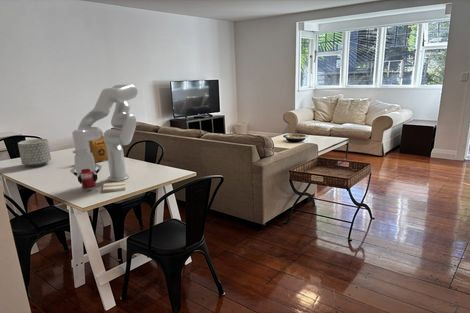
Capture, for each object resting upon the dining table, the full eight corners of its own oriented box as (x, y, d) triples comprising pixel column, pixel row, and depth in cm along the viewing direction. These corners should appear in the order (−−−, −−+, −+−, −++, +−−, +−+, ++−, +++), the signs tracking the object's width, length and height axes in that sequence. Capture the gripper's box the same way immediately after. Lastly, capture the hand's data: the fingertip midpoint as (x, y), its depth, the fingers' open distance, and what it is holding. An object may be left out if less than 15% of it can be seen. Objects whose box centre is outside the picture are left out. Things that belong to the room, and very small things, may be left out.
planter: (35, 169, 233) (30, 144, 229) (16, 167, 240) (11, 143, 235) (57, 162, 251) (53, 139, 246) (39, 161, 257) (35, 138, 253)
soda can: (93, 189, 184) (90, 168, 181) (80, 190, 184) (76, 169, 180) (97, 184, 191) (94, 165, 188) (85, 185, 191) (81, 165, 187)
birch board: (104, 185, 195) (103, 183, 195) (125, 183, 199) (124, 181, 198) (102, 192, 184) (102, 190, 184) (125, 189, 188) (125, 187, 187)
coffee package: (110, 160, 254) (107, 132, 248) (94, 163, 245) (90, 134, 240) (105, 158, 261) (101, 130, 255) (89, 161, 252) (85, 133, 247)
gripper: (64, 155, 176) (70, 186, 180) (99, 151, 181) (104, 181, 186) (66, 152, 182) (72, 182, 187) (100, 148, 188) (105, 177, 192)
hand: (88, 181), depth 186 cm, fingers closed on soda can, 7 cm apart
